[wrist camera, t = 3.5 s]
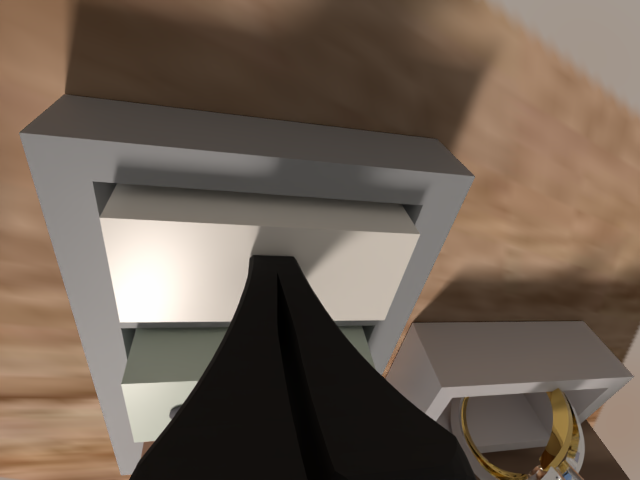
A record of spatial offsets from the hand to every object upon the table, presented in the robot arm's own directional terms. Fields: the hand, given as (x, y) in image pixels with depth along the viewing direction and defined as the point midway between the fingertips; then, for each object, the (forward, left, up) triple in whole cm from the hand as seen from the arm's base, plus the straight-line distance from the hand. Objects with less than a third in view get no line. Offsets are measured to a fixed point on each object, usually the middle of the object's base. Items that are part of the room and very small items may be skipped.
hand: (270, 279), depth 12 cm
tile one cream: (0, 0, -3) cm, 3 cm away
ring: (-11, -15, -4) cm, 19 cm away
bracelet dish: (-11, -15, -4) cm, 19 cm away
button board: (-6, 0, -4) cm, 7 cm away
